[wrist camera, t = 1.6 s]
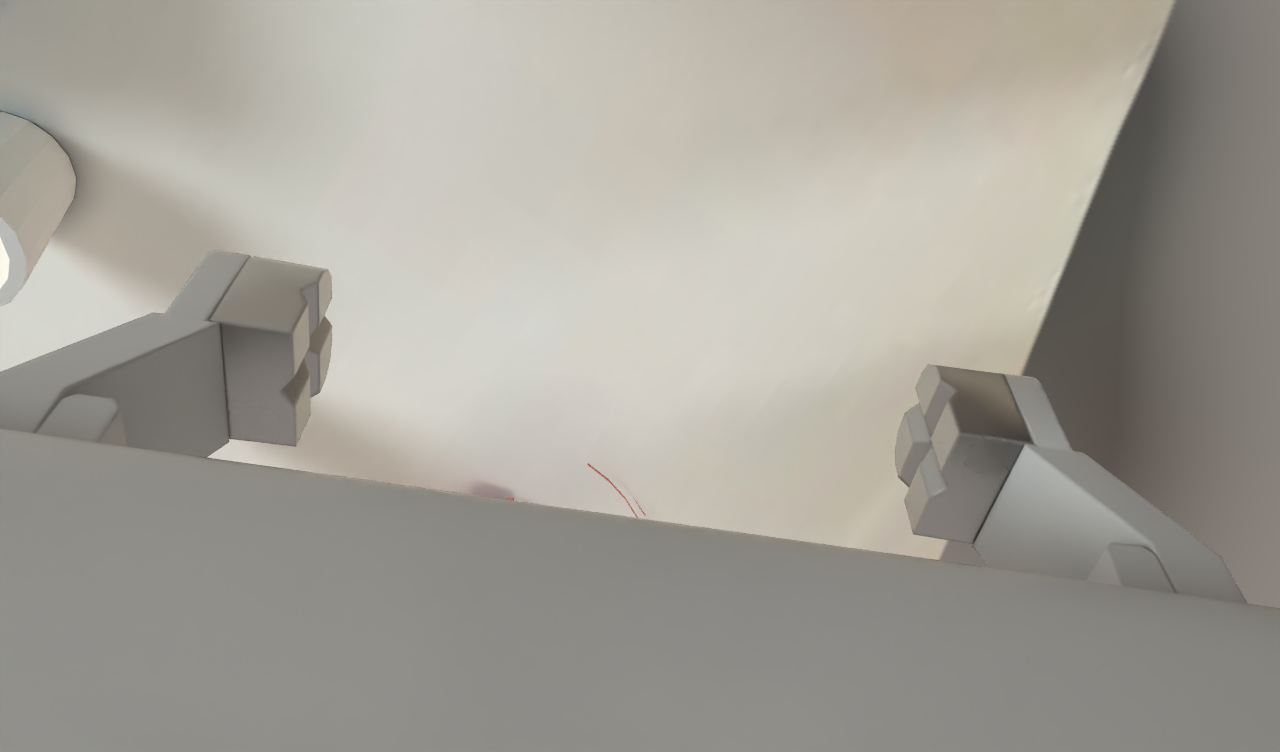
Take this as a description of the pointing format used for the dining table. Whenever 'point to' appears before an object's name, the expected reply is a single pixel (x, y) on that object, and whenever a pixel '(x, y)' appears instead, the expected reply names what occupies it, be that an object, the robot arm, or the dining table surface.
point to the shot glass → (29, 198)
